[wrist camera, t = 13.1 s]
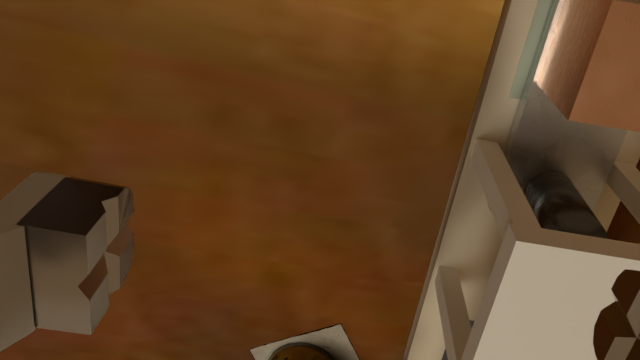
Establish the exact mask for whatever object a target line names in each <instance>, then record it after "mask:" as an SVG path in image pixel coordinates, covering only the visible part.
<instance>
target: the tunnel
mask: <svg viewBox="0 0 640 360" xmlns="http://www.w3.org/2000/svg"><path fill="white" fill-rule="evenodd" d="M471 159H472V162H473V165H474V167H475V170H476V173H477V175H478V178H479V180H480V183H481V186H482V188H483V191H484V193H485V196H486V199H487V201H488V204H489V206H490V209H491V212H492V214H493V217H494V219H495V222H496V225H497V227H498V230H499V232H500V235H501V238H502V240H503V241H502V244H501V247H500V249H499V252H498V255H497V258H496V261H495V264H494V267H493V269H492V272H491V275H490V278H489V281H488V284H487V287H486V290H485V292H484V295H483V298H482V301H481V304H480V307H479V310H478V312H477V315H476V318H475V321H474V324H473V327H472V329H471V325H470V320H469V316H468V312H467V308H466V304H465V299H464V295H463V291H462V287H461V283H460V278H459V274H458V270H457V269H453V268H447V267H441V266H439V267H438V270H437V274H436V277H435V280H434V283H435V288H436V294H437V300H438V306H439V312H440V318H441V323H442V329H443V335H444V341H445V347H446V352H447V358H448V360H597V357H596V355H595V351H594V346H593V335H594V326H595V323H596V321H597V319H598V316H599V314H600V311H601V310H602V309H604V308H605V307H607V306H608V305H610V304H612V303H613V302H615V299H614V296H613V293H612V290H611V288H612V286H613V284H614V282H615V280H616V278H617V277H618V276H619V275H620V274H621V273H622V272H623V271H624V270H625V269H627V270H637V271H640V244H636V243H630V242H623V241H617V240H611V239H605V238H599V237H593V236H586V235H580V234H574V233H568V232H562V231H556V230H549V229H543V228H541V226H540V224H539V223H538V221H537V219H536V217H535V215H534V213H533V211H532V209H531V207H530V205H529V203H528V201H527V199H526V197H525V195H524V193H523V191H522V189H521V187H520V185H519V183H518V181H517V179H516V177H515V176H514V174H513V172H512V170H511V168H510V166H509V164H508V162H507V160H506V158H505V156H504V154H503V152H502V150H501V148H500V146H499V144H498V142H495V141H488V140H482V139H476V142H475V145H474V148H473V152H472V155H471ZM606 183H607V184H608V185H609V187H610V188H611V189H612V190H613V192H614V193H615V194H616V195H617V197H618V198H619V199H620V200H621V202H622V203H623V204H624V205H625V207H626V208H627V209H628V210H629V212H630V213H631V214H632V215H633V216H634V218H635V219H636V220H637V221H638V223H639V224H640V172H639V170H638V169H637V168H636V167H635V166H634V165H633V164H630V163H624V162H618V161H615V162H614V165H613V167H612V169H611V172H610V174H609V176H608V179H607V181H606Z"/></svg>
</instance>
